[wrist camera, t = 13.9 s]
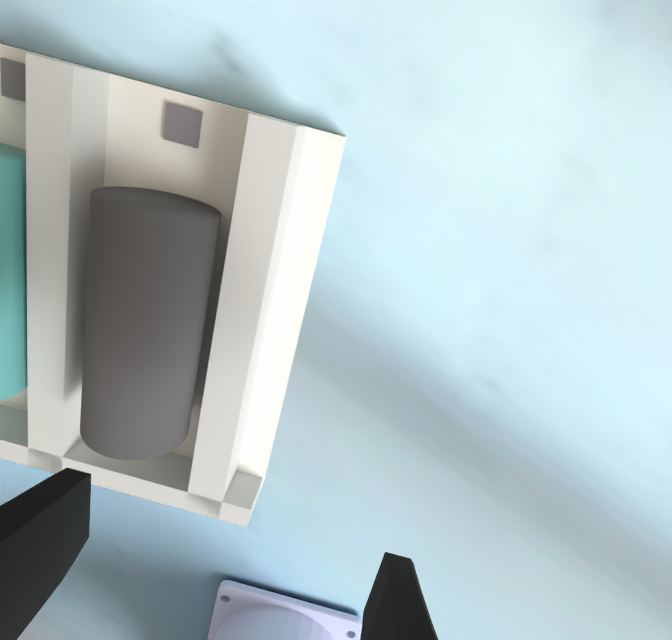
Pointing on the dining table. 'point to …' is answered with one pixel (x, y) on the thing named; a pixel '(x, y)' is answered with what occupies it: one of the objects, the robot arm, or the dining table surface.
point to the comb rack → (227, 280)
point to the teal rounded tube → (13, 272)
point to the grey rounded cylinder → (144, 318)
